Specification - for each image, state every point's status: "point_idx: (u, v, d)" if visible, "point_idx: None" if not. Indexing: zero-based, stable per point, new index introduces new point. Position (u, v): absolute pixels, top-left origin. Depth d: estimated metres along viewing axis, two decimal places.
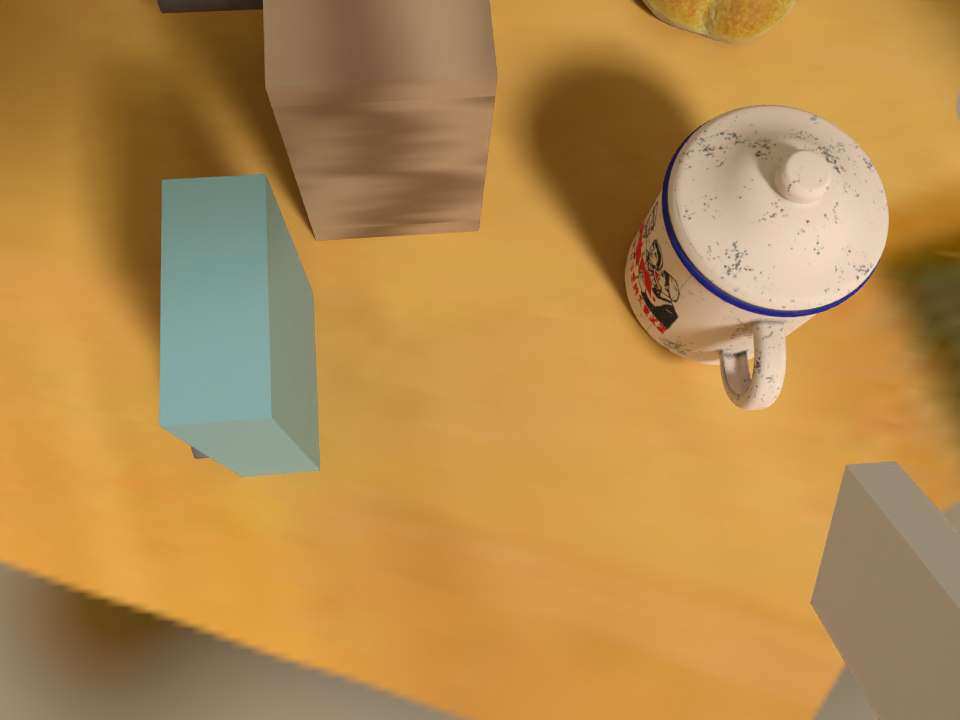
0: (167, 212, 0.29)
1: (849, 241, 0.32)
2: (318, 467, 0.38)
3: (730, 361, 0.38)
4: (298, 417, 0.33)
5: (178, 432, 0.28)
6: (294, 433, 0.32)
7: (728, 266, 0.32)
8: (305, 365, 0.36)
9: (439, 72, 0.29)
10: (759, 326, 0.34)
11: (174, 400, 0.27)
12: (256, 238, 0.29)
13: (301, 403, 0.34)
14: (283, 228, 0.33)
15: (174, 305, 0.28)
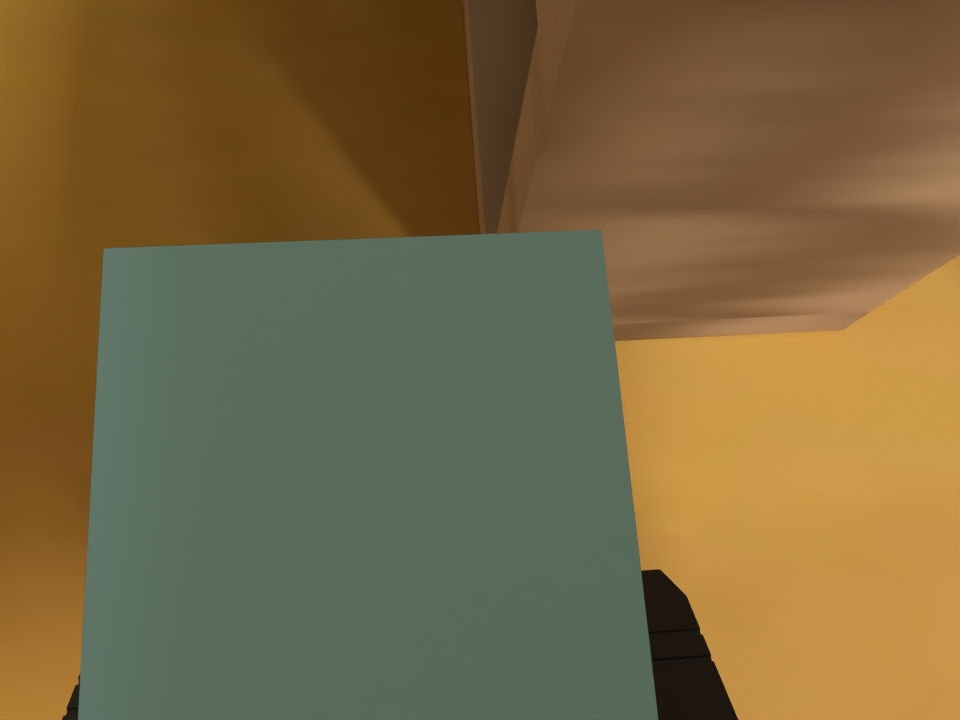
0: (127, 421, 0.06)
1: None
2: None
3: None
4: None
5: None
6: None
7: None
8: None
9: None
10: None
11: None
12: (586, 571, 0.05)
13: None
14: None
15: None
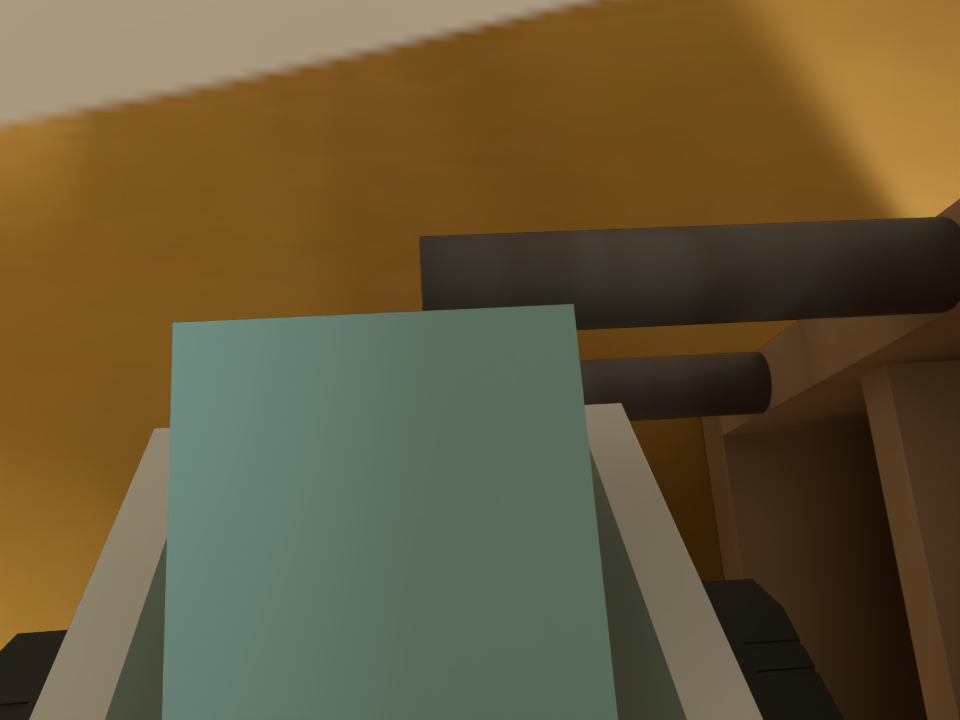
0: (194, 464, 0.07)
1: None
2: None
3: None
4: None
5: None
6: None
7: None
8: None
9: None
10: None
11: None
12: (560, 581, 0.07)
13: None
14: None
15: None
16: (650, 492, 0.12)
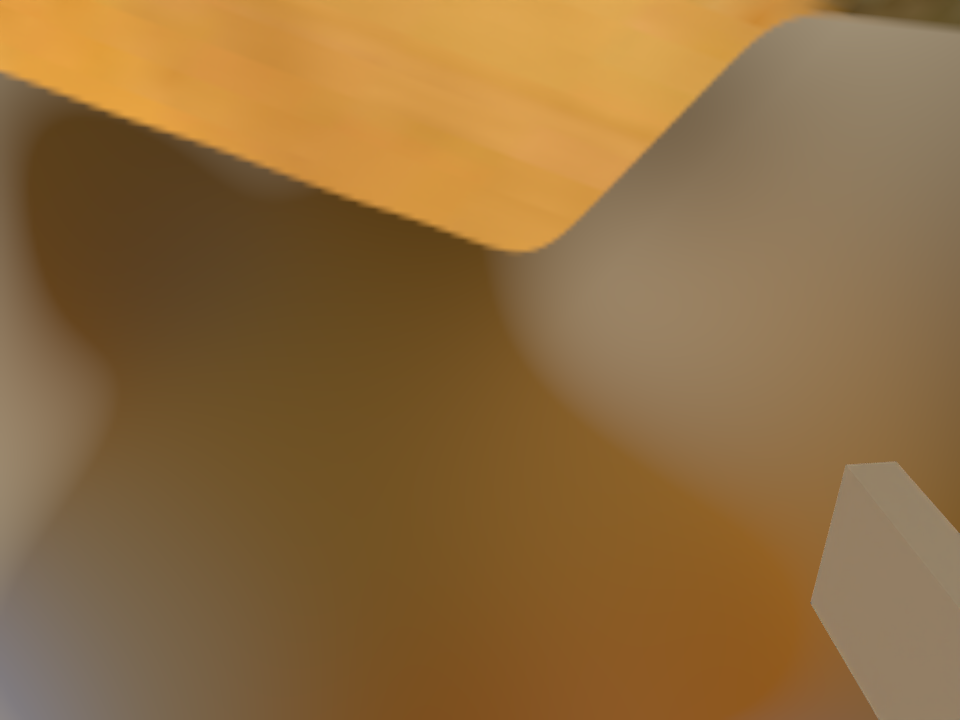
0: None
1: None
2: None
3: None
4: None
5: None
6: None
7: None
8: None
9: None
10: None
11: None
12: None
13: None
14: None
15: None
16: None
